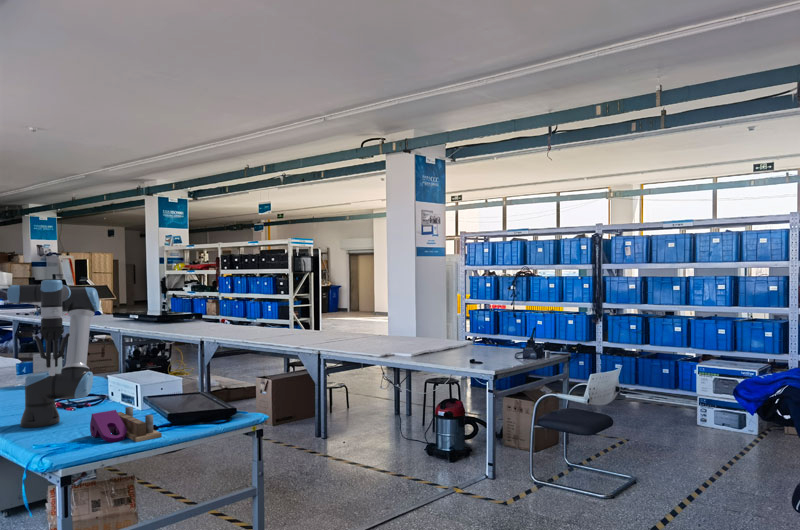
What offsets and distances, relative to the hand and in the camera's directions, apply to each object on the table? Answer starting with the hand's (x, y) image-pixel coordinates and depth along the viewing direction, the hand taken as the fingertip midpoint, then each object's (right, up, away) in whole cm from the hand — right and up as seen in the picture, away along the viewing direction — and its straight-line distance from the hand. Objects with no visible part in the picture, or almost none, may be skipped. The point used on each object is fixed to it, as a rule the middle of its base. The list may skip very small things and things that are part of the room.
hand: (52, 375), depth 234 cm
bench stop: (+29, -26, +10) cm, 40 cm away
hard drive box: (-75, -30, +119) cm, 144 cm away
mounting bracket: (+22, -27, +3) cm, 35 cm away
